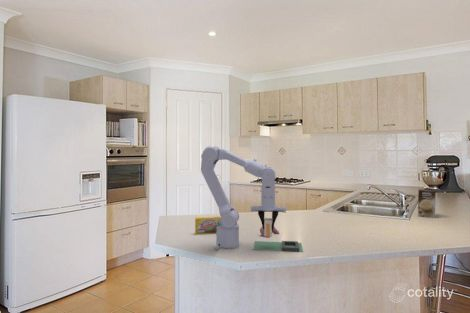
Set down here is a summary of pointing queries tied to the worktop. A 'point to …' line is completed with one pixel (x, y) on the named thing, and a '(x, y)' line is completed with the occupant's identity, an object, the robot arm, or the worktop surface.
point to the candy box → (207, 225)
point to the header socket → (291, 243)
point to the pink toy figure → (272, 231)
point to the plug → (268, 227)
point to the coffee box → (426, 203)
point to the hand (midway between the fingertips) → (268, 229)
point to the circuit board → (272, 246)
